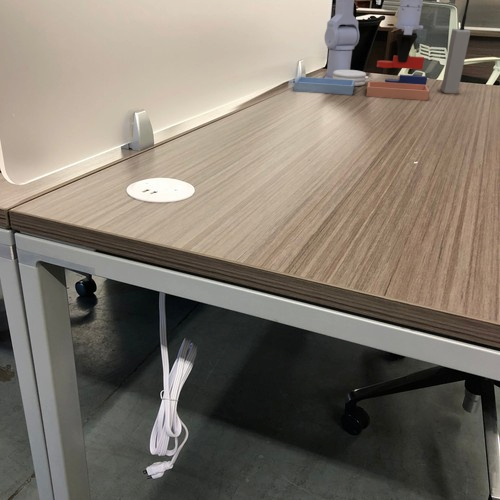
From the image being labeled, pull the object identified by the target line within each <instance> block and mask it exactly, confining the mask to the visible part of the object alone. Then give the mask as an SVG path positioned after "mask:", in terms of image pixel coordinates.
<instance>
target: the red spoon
mask: <svg viewBox="0 0 500 500" xmlns="http://www.w3.org/2000/svg"><path fill="white" fill-rule="evenodd" d="M424 62H425V57H424V56H411V55H409V56H408V59H407V61H406V62H398V55H395V54H394V55H393V58H392V60H383V59H382V60H377V61H376V67H377V68H383V69H392V68H394V69H410V70H412V69H413V70H423V68H424Z"/></svg>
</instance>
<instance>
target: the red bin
mask: <svg viewBox="0 0 500 500" xmlns="http://www.w3.org/2000/svg"><path fill="white" fill-rule="evenodd" d="M366 87H367V88H366V97H372V98H373V97H374V98H376V97H377V98H388V99H389V98H390V99H401V100H403V99H404V100H417V101H429V96H430V89H429V87H428V85H427V84H426V85H420V84H405V83H390V82H385V81H374V80H373V81H372V80H368V82H367V86H366Z"/></svg>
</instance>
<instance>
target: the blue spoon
mask: <svg viewBox="0 0 500 500" xmlns="http://www.w3.org/2000/svg"><path fill="white" fill-rule="evenodd" d="M384 82H390V83H405V84H420V85H427V82H428V76H427V75H414V74H399V78H398V79H397V78H385V79H384Z"/></svg>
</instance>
